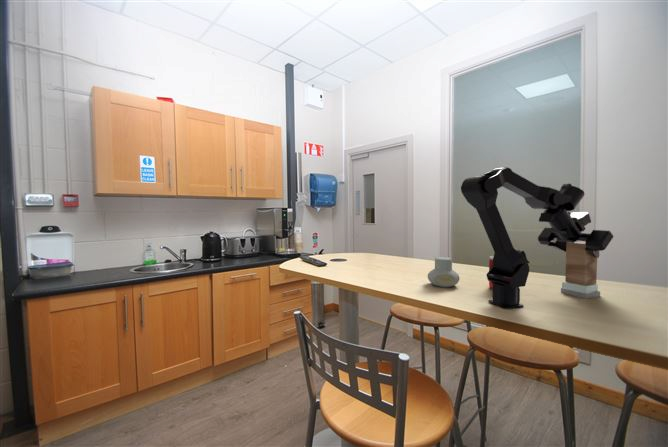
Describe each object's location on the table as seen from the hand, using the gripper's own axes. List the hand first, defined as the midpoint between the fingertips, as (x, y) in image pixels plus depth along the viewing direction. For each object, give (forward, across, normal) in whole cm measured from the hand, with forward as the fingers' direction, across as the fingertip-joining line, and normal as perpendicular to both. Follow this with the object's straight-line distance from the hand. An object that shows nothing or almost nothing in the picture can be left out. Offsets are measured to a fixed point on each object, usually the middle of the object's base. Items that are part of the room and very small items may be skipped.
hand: (584, 255), depth 93 cm
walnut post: (+5, 0, +7) cm, 9 cm away
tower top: (+7, 0, +9) cm, 11 cm away
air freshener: (-16, +24, +34) cm, 44 cm away
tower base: (+8, 0, +10) cm, 13 cm away
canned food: (-5, +13, +23) cm, 27 cm away
